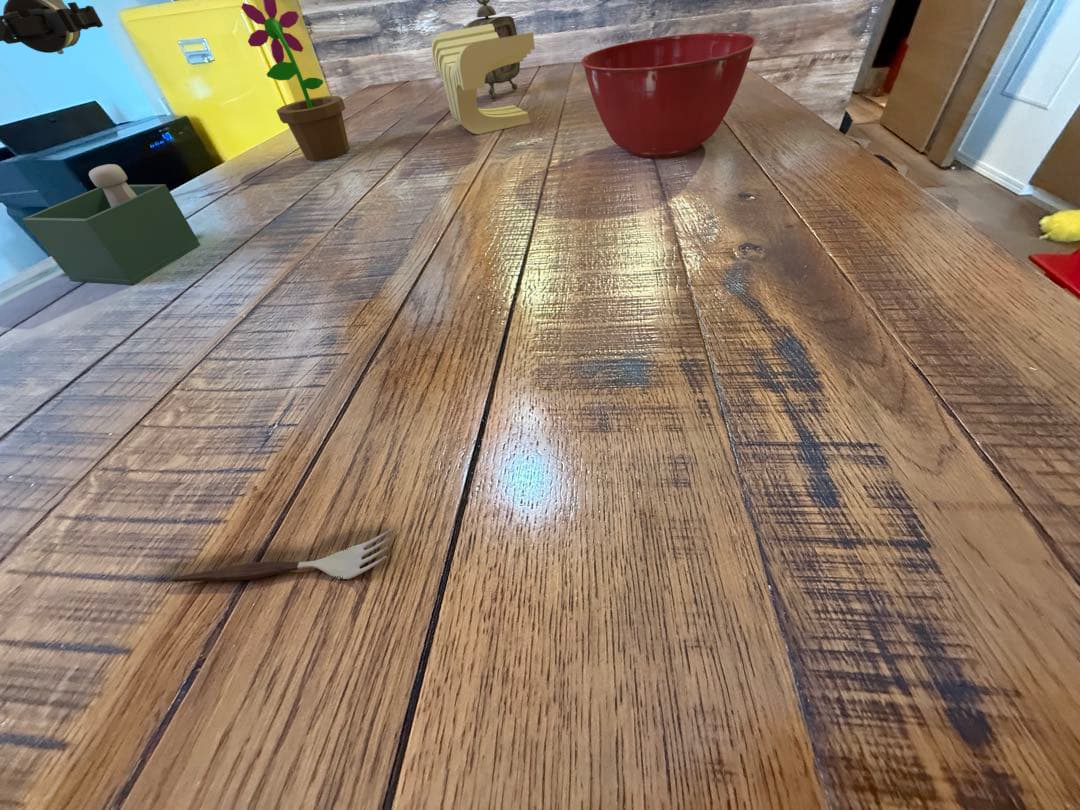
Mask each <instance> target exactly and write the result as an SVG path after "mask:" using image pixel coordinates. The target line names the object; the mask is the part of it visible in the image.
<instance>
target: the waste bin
mask: <svg viewBox="0 0 1080 810" xmlns="http://www.w3.org/2000/svg"><path fill="white" fill-rule="evenodd" d="M128 186H129V187H130V188H131V189H132V190H133V192H134V193H135V194H136V195H137V196H135V197H133V198H131V199H129V200H127V201H124V202H122V203H120V204H118V205H116V206H114V207H111V206H110V204H109V201H108V199H107V197H106V195H105V193H104V190H103V188H99V187H96V188H94V189H93V188H92V189H91V190H88V191H86V192H84V193H82V194H79V195H77V196H75V197H71V198H69V199H67V200H64V201H62V202H60V203H58V204H55V205H53V206H49V207H47V208H45V209H43V210H41V211H38V212H36V213H33V214H30V215H28V216H26V217H23V218H22V219H21V220H22V222H23V223H24V224H25V225H26V227H27V228H28V229H29V230H30V232H31V233H32V235H33V236H34V237H35V238H36V239H37V240H38V242H39V243H40V244H41V245H42V247H43V248H44V249H45V250H46V252H47V253H48V254H49V256H50V257H51V258H52V259H53V261H54V262H55V263H56V264H57V265H58V266H59V268H60V269H61V270H62V272H63V273H64V274H65V275H66V276H67V278H68V279H69V280H70V281H71V282H81V283H97V284H98V283H99V284H112V285H124V286H135V285H136V284H137V283H139V282H140V281H142V280H144V279H146V278H147V277H149V276H151V275H153V274H155V273H156V272H157V271H159V270H161V269H162V268H164V267H166V266H167V265H169V264H171V263H173V262H174V261H176V260H177V259H179V258H181V257H183V256H184V255H186V254H188V253H190V252H191V251H193V250H194V249H196V248H198V247H200V246H201V243H200V240H199V239H198V237H197V236H196V234H195V232H194V231H193V229H192V227H191V226H190V224H189V222H188V220H187V219H186V217H185V215H184V214H183V212H182V210H181V208H180V207H179V205H178V204H177V201H176V200H175V199H174V196H173V195H172V193H171V191H170V189H169V188H168V187H167V185H166V184H165V183H163V184H162V183H161V184H128Z"/></svg>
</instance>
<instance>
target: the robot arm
mask: <svg viewBox="0 0 1080 810" xmlns="http://www.w3.org/2000/svg"><path fill="white" fill-rule="evenodd" d="M2 13H3V14H2V15H0V42H4V43H6V44H7V45H12V44H19V43H21V44H23V45H25V46H26V47H27V48H29V49H32V50H34V51H36V52H40V53H46V54H52V53H53V54H54V53H57V54H58V55H64V53H65V51H64V49H67V48H69V47H73V46H76V45H77V44H78V42H79V40H80V38H81V31H82V30H89V29H90V28H102V27H103V26H104V24H103V22H102V20H101V18H100V16H99V15H98V13H97V11H96V9H95V8H94V6H92V5H85V7H79V5H78V4H77V2H76V1H73V2H67V5H66V4H65V3H64V0H7V1H6V2H5V4H4V6H3V12H2Z"/></svg>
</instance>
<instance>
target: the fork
mask: <svg viewBox="0 0 1080 810" xmlns="http://www.w3.org/2000/svg"><path fill="white" fill-rule="evenodd" d="M392 531H393V528H389V529H387V530H386V531H385V532H383V533H381V534H379V535H378V536H376V537H374V538H372V539H370V540H368V541H365V542H362V543H360V544H356V545H353V546H350V547H351V548H350V547H347V548H345V549H346V550H345V549H342V550H339V551H337V552H334V553H332V554H330V555H328V556H325V557H322V558H320V559H316V560H310V561H256V562H255V561H254V562H247V563H241V564H235V565H231V566H226V567H221V568H215V569H211V570H210V569H209V570H204V571H199V572H193V573H189V574H184V575H179V576H175V577H172V578H171V582H176V583H177V582H181V583H183V582H207V581H210V582H211V581H213V582H214V581H248V580H255V579H261V578H266V577H271V576H275V575H279V574H284V573H288V572H293V571H298V570H303V569H309V568H314V569H317V570H319V571H322V572H324V573H325V574H327V575H328V576H330V577H332V576H334V577H335V576H336V577H337V576H339V575H340V576H341V578H342V577H343V579H347V580H351V579H353V578H355V577H358V576H359V575H362V574H363V573H365V572H367V571H369V570H370V569H372V568H374V567H376V566H377V565H378V564H381V563H382V562H383V561H385V560H386V559H387V558H388V556H387V555H385V556H383V557H381V558H380V559H378V560H376V561H374V562H372V563H370V564H368V565H366V566H364V565H365V564H366V563H368V562H370V561H372V560H374V559H375V558H377V557H378V556H380V555H381V554H383V553H385V552H386V551H387V550H389V549H390V548H389V547H388V546H385V547H384V548H382V549H380V550H379V551H377V552H376V553H373V554H372V555H370V556H368V557H365V556H367V555H369V554H370V553H372V552H374V551H375V550H376V549H379V548H380V547H381V546H383V545H384V544H387V543H388V542H389V541H390V540H391V537H387V538H386V539H384V540H382V541H380V542H379V543H377V544H375V545H373V544H374V543H375V542H377V541H379V540H380V539H382V538H384V537H385V536H386V535H388V534H390V533H391V532H392ZM370 545H373V546H372V547H369V546H370ZM367 547H369V548H367ZM366 548H367V549H366ZM347 549H348V550H347ZM343 550H344V551H343ZM364 557H365V558H364ZM362 566H364V567H362ZM361 567H362V568H361ZM340 576H339V577H340ZM334 577H333V578H334Z"/></svg>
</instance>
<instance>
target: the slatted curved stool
mask: <svg viewBox="0 0 1080 810" xmlns="http://www.w3.org/2000/svg"><path fill="white" fill-rule="evenodd" d="M430 48H431V50H430V53H431V57H432V62H433V66H434V71H435V73H439V75H440V77H441V80H443V86H444V89H445V93H446V97H447V101H448V106H449V111H450V113H451V115H452V117H453V118H454V119H455V121H456V122H458V123H459V124H460V125H461V126H462V127H463V128H464V129H465V130H467V131H468V132H470V133H472V134H475V135H482V134H486V133H492V132H496V131H500V130H506V129H509V128H514V127H518V126H523V125H528V124H531V120H530V115H529V113H528V111H525V110H523V109H522V108H520V107H518V106H517V105H515V104H512V105H511V104H510V105H506V106H500V107H491V108H479V107H478V104H477V93H478V89H482V88H485V84H486V83H485V77H486V74H487V73H489V72H491V71H493V70H495V69H497V68H500V67H503V66H506V65H509V64H513V63H517V62H520V63H521V62H524V59H526V58H528V55H530V54H532V51H533V50H536V46H535V36H534V31H531V32H527V33H520V34H517V35H515V36H510V37H504V38H499V36H498V34H497V32H495V29H494V27H493V25H492V24H487V25H482V26H476V27H471V28H465V29H464V28H460V29H454V30H449V31H443V32H441V33H438V34H437V35H436V36H435V37H434V38H433V40H432V43H431V47H430Z"/></svg>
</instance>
